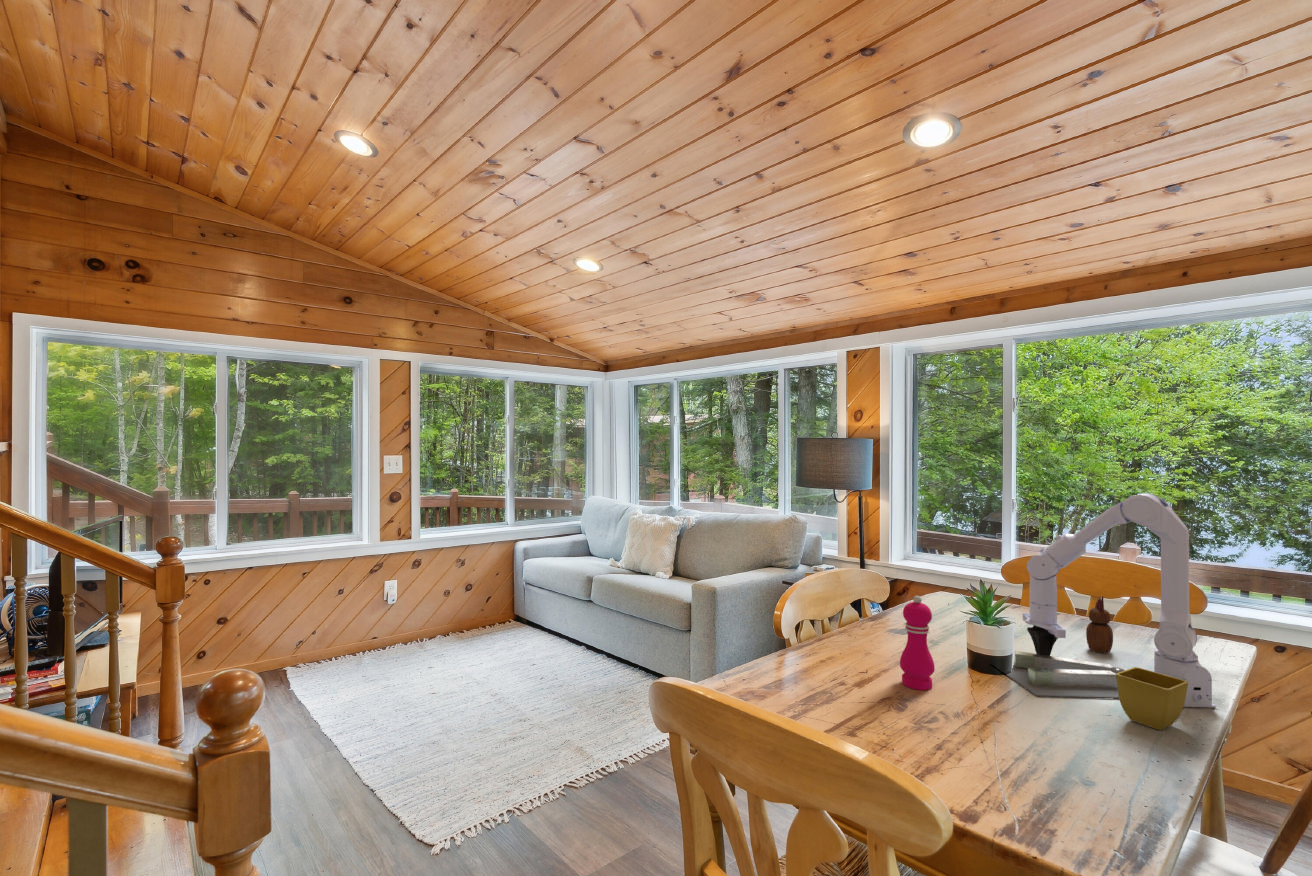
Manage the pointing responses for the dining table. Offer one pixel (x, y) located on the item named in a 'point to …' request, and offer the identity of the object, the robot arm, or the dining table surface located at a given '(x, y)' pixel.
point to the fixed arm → (1072, 678)
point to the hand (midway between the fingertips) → (1043, 658)
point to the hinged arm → (1058, 663)
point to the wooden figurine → (1099, 629)
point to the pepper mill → (917, 647)
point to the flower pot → (1151, 697)
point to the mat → (1060, 688)
